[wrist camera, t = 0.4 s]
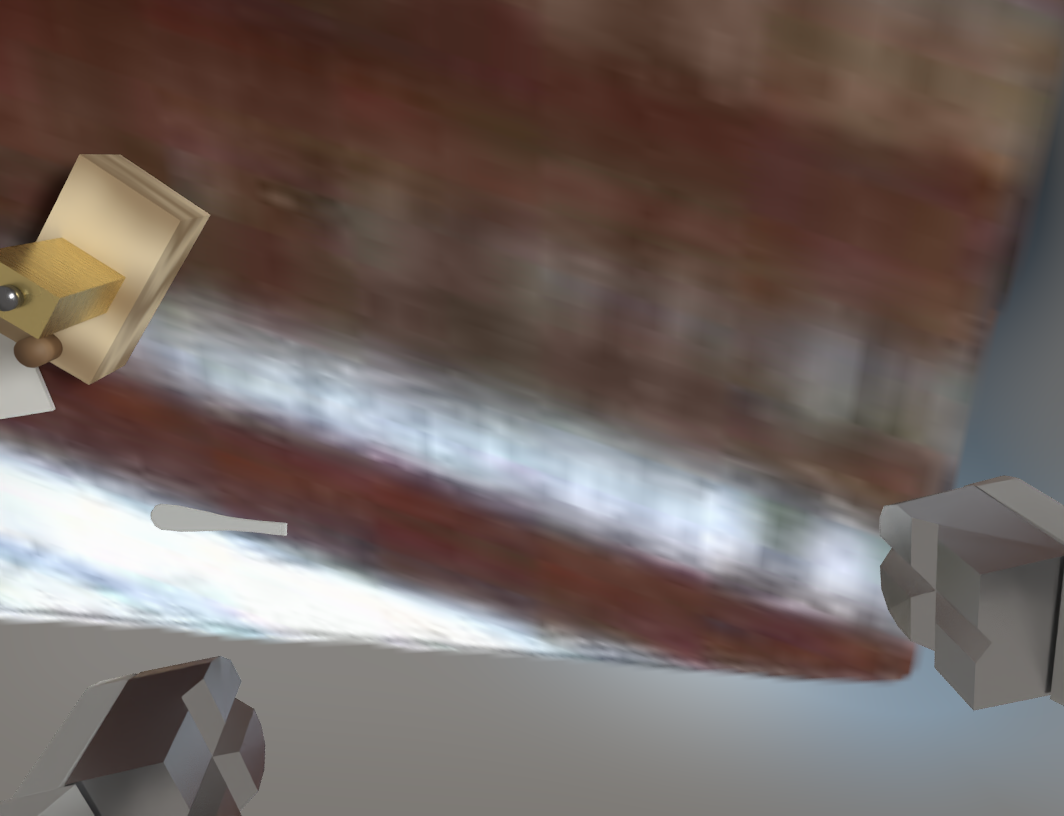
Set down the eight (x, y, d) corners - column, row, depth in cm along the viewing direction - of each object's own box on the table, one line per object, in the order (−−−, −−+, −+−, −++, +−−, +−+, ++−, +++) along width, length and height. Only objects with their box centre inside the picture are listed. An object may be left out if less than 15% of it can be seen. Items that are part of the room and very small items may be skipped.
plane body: (120, 154, 49) (61, 154, 43) (210, 215, 51) (167, 223, 44) (37, 313, 53) (-29, 335, 46) (124, 365, 54) (72, 393, 48)
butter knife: (149, 499, 58) (150, 530, 59) (436, 528, 60) (433, 558, 61) (151, 496, 59) (152, 527, 60) (436, 526, 61) (433, 555, 62)
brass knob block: (62, 237, 46) (-28, 253, 39) (125, 277, 47) (51, 301, 40) (43, 274, 47) (-48, 297, 39) (106, 312, 48) (29, 342, 40)
